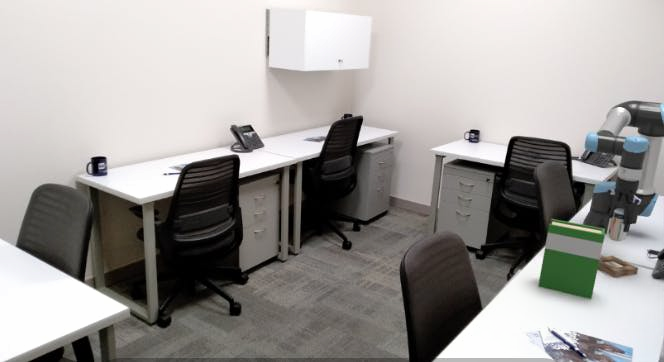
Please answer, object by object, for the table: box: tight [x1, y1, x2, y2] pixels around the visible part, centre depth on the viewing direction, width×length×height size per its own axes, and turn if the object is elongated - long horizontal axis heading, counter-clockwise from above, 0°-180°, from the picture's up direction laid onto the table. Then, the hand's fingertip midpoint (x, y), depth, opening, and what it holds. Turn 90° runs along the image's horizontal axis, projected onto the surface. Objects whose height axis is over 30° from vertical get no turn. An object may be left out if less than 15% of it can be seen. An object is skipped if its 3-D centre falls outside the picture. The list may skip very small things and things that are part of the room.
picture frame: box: [598, 255, 639, 278], centre depth 210 cm, size 12×12×3 cm
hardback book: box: [537, 218, 606, 300], centre depth 188 cm, size 18×7×24 cm, turn 64°
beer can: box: [608, 208, 624, 242], centre depth 201 cm, size 5×5×12 cm
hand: (615, 236), depth 203 cm, fingers closed on beer can, 5 cm apart
